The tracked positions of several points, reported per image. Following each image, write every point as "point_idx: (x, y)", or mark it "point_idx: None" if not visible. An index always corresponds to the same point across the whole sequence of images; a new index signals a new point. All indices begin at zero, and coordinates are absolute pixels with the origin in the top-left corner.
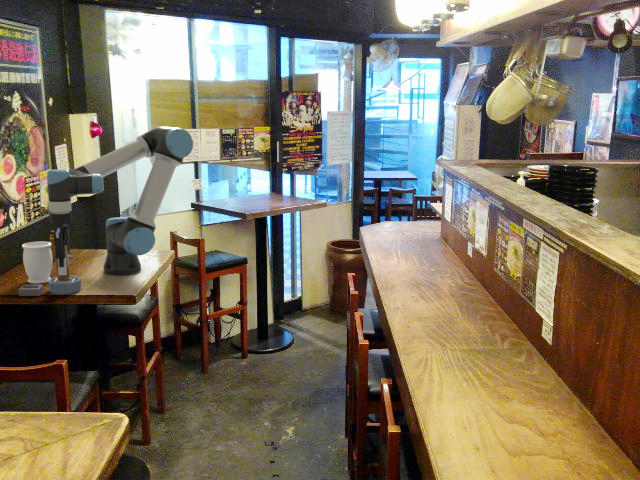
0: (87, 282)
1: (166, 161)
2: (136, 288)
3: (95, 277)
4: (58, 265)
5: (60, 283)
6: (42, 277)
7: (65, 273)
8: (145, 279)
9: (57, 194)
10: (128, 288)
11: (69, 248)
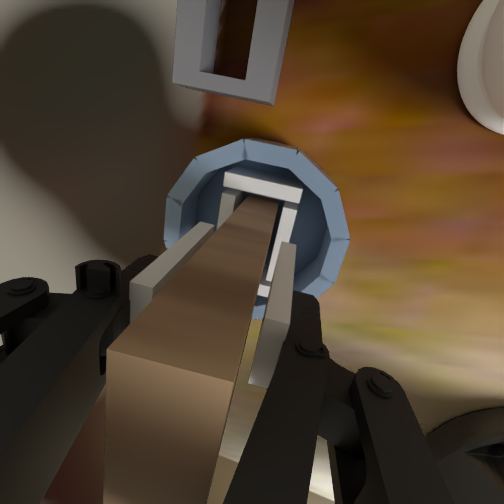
0: (365, 322)
1: None
2: (220, 446)
3: (445, 362)
4: (167, 251)
5: (180, 216)
6: (482, 76)
7: None
8: (324, 490)
9: None
10: (225, 428)
11: (360, 471)
